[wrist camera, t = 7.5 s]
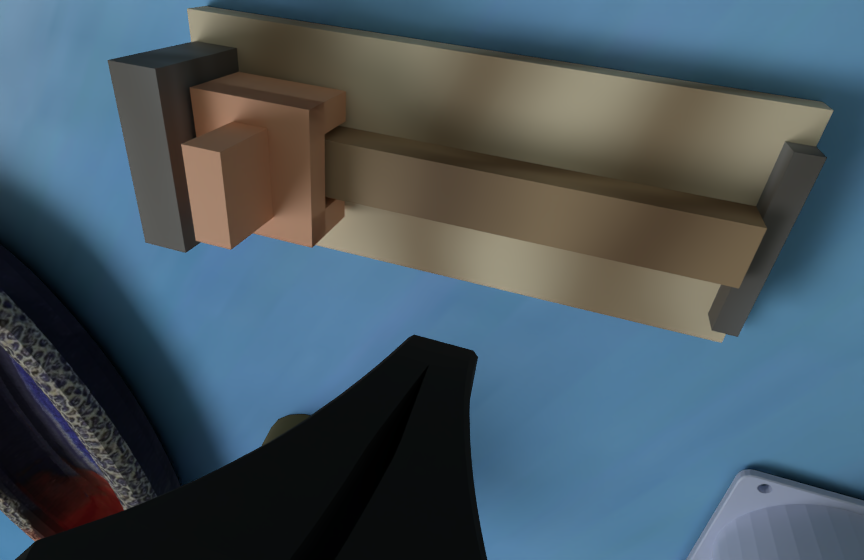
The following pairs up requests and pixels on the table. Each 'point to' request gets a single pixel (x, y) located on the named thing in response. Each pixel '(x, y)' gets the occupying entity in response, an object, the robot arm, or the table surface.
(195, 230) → the slider
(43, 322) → the dish
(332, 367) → the table surface
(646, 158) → the rail board
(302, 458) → the robot arm
